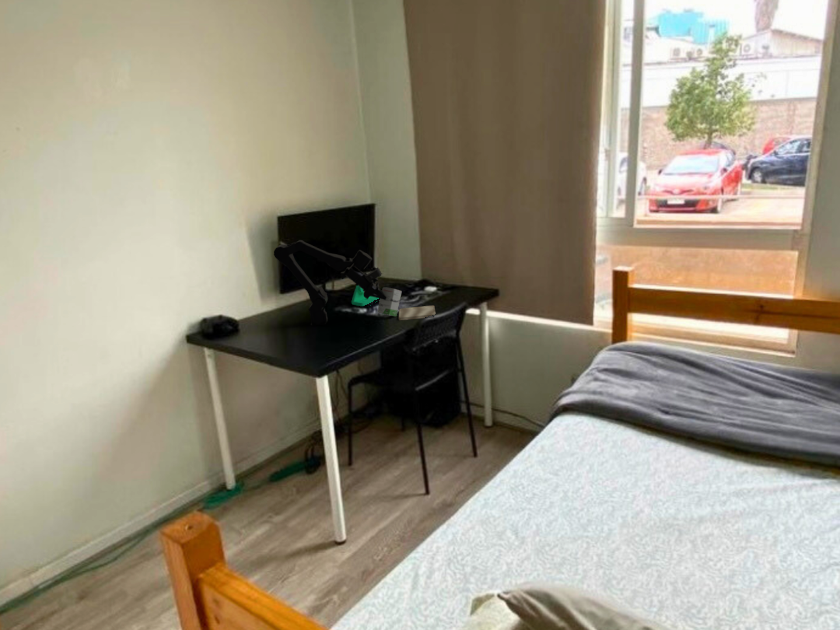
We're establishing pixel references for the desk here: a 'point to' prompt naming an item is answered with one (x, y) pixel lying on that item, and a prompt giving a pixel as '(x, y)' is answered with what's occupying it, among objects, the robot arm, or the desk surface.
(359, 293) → the camera mount
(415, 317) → the birch board
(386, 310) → the ink box
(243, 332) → the desk surface
